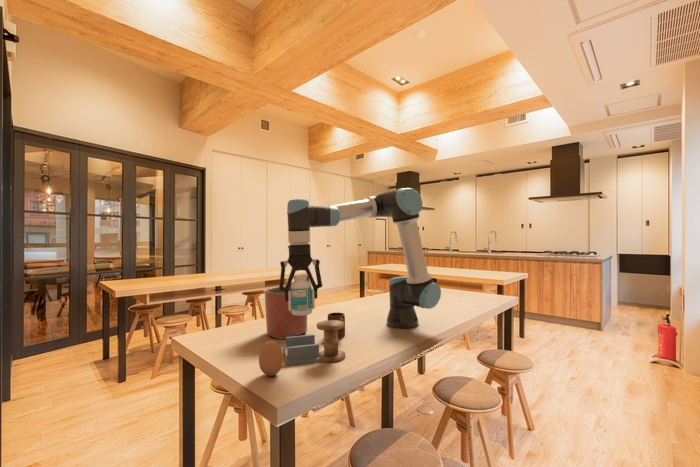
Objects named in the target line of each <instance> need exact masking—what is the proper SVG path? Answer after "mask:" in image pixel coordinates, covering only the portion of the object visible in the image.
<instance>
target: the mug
mask: <svg viewBox="0 0 700 467" xmlns="http://www.w3.org/2000/svg"><path fill="white" fill-rule="evenodd" d="M327 320H338V321H342V322H344V324H345V326H344V328H342V329H339V330H338V339H341V338H344V337H346V317H345V313H344V312H331V313H328V314H327Z"/></svg>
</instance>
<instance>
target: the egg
mask: <svg viewBox="0 0 700 467" xmlns="http://www.w3.org/2000/svg"><path fill="white" fill-rule="evenodd" d="M258 365H259V369H260V370H261V372H262V373H263V375H265V376H267V377H268V376H269V377H274V376H276V375H277V374H278V373H280V370H282V367H283V365H284V353H283V349H282V347H281V346H280V344H279V343H278V342H277V341H275V340H268V341H267V342H265V343H264V345H262V347H261V349H260V352H259V354H258Z"/></svg>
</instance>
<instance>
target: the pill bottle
mask: <svg viewBox="0 0 700 467" xmlns="http://www.w3.org/2000/svg"><path fill="white" fill-rule="evenodd" d="M307 279H308V275H307V273H305V274H304V273H302V274H301V273H300V274H294V277H293V280H294V281H292V282H291V285H290V292H291V313H292V314H293V315H296V316H303V315H307V316H308V315H310V314H312V313H313V309H312V289H313V288H312V284H311V282H310V280H307Z"/></svg>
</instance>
